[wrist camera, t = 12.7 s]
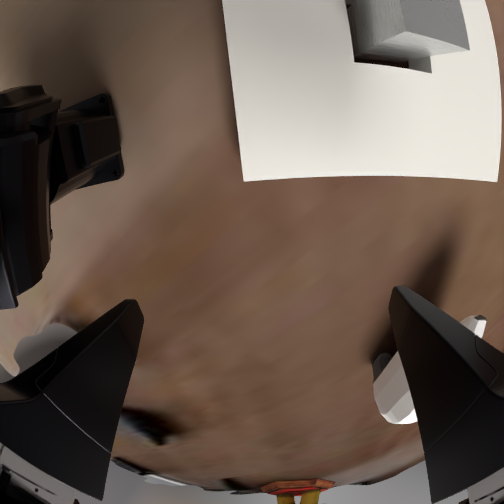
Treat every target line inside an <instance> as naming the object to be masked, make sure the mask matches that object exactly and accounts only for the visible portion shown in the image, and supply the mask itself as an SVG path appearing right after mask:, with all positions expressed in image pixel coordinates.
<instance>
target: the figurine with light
mask: <svg viewBox="0 0 504 504" xmlns="http://www.w3.org/2000/svg"><path fill="white" fill-rule="evenodd" d="M334 483H335V482H332V481H327V480H322V479H318V478H317V479H307V480H294V481H275V482H273V483H270V484H268V485H265V486H262V487H260V488H261V490H262V491H263V492H264V493H268V494H271V495H277V502H278V504H295V501H294V496H302V497H301V502H300V504H318V499H319V494H320V492H322V491H325V490H327V489H329V488H332V487H333V485H334Z"/></svg>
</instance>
